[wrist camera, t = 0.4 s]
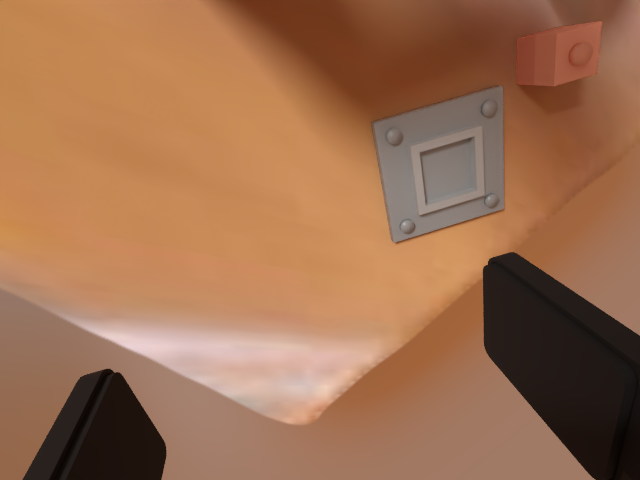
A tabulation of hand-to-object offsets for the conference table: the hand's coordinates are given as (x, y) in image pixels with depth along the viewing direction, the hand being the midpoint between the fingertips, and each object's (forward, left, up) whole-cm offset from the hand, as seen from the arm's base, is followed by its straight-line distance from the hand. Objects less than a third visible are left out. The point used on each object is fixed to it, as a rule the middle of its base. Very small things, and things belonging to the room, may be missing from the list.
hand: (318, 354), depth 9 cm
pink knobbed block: (0, +33, -36) cm, 49 cm away
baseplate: (+10, +20, -36) cm, 42 cm away
